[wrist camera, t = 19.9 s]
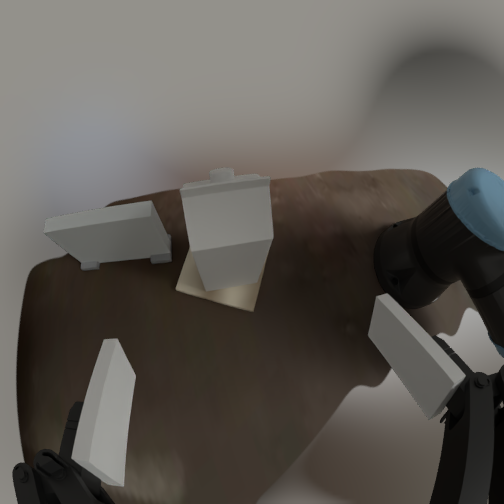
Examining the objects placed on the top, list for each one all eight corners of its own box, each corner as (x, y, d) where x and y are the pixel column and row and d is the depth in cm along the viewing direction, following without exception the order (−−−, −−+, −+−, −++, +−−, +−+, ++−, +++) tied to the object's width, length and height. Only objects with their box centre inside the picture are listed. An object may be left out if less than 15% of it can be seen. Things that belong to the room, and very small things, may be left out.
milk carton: (257, 283, 37) (281, 215, 20) (205, 292, 36) (183, 231, 19) (247, 236, 40) (260, 144, 22) (198, 244, 39) (177, 155, 21)
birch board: (270, 241, 41) (271, 238, 40) (252, 312, 37) (253, 311, 36) (200, 222, 41) (200, 219, 40) (176, 290, 37) (175, 289, 36)
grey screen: (171, 236, 40) (151, 193, 29) (171, 261, 39) (150, 224, 27) (85, 247, 38) (47, 211, 27) (83, 270, 37) (42, 240, 26)
